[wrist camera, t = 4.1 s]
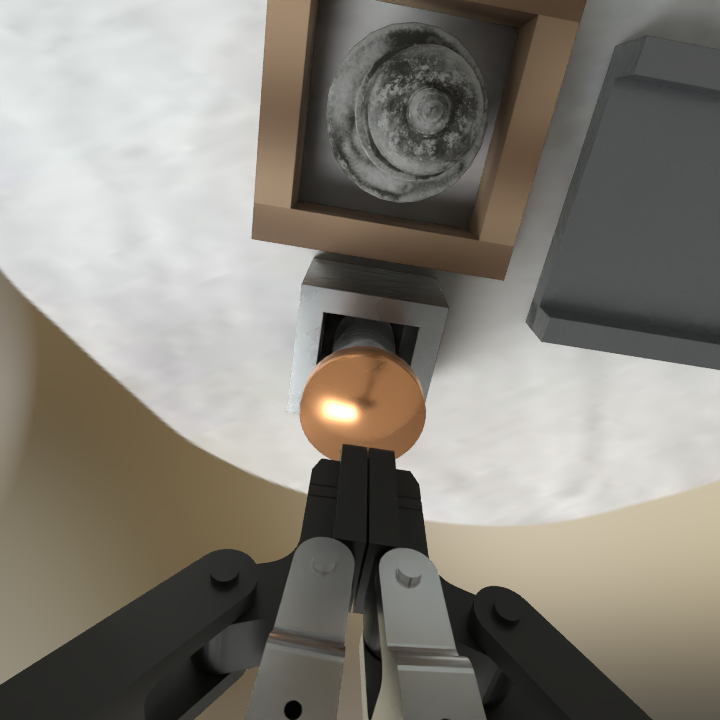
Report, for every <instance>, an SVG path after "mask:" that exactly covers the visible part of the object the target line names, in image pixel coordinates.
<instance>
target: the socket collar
mask: <svg viewBox="0 0 720 720" xmlns="http://www.w3.org/2000/svg"><path fill="white" fill-rule="evenodd" d="M377 1H382V2H387V3H393V4H398V5H403V6H408V7H413V8H418V9H424V10H429V11H434V12H439V13H444V14H449V15H455V16H460V17H465V18H470V19H475V20H481V21H486V22H491V23H496V24H501V25H506V26H512V27H517V28H519V31H518V35H517V39H516V43H515V47H514V51H513V55H512V59H511V63H510V67H509V70H508V74H507V78H506V82H505V86H504V90H503V94H502V98H501V102H500V106H499V110H498V114H497V118H496V122H495V126H494V130H493V134H492V138H491V142H490V146H489V150H488V154H487V158H486V162H485V166H484V170H483V174H482V178H481V182H480V186H479V190H478V194H477V198H476V202H475V206H474V210H473V214H472V217H471V221H470V225H469V229H468V230H467V229H461V228H455V227H449V226H444V225H438V224H432V223H426V222H420V221H414V220H408V219H402V218H397V217H391V216H385V215H379V214H373V213H367V212H361V211H355V210H349V209H344V208H338V207H332V206H326V205H320V204H314V203H308V202H302V201H298V198H299V188H300V179H301V169H302V159H303V150H304V140H305V131H306V121H307V111H308V102H309V92H310V82H311V73H312V63H313V53H314V44H315V34H316V24H317V15H318V5H319V0H267V15H266V30H265V45H264V60H263V75H262V90H261V105H260V120H259V135H258V150H257V165H256V179H255V194H254V209H253V224H252V239H255V240H261V241H267V242H273V243H279V244H285V245H291V246H297V247H303V248H309V249H315V250H321V251H327V252H334V253H340V254H346V255H352V256H358V257H364V258H370V259H376V260H382V261H388V262H394V263H400V264H406V265H412V266H418V267H424V268H431V269H437V270H443V271H449V272H455V273H461V274H467V275H473V276H479V277H485V278H491V279H497V280H503V281H504V278H505V275H506V272H507V268H508V265H509V261H510V258H511V255H512V251H513V248H514V244H515V241H516V238H517V234H518V231H519V227H520V224H521V221H522V217H523V214H524V210H525V207H526V204H527V200H528V197H529V193H530V190H531V187H532V183H533V180H534V177H535V173H536V170H537V166H538V163H539V160H540V156H541V153H542V149H543V146H544V143H545V139H546V136H547V132H548V129H549V126H550V122H551V119H552V115H553V112H554V109H555V105H556V102H557V98H558V95H559V92H560V88H561V85H562V82H563V78H564V75H565V71H566V68H567V65H568V61H569V58H570V54H571V51H572V48H573V44H574V41H575V37H576V34H577V31H578V27H579V24H580V20H581V17H582V14H583V10H584V7H585V3H586V0H377Z"/></svg>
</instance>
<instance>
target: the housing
mask: <svg viewBox="0 0 720 720" xmlns="http://www.w3.org/2000/svg"><path fill="white" fill-rule="evenodd" d="M448 310H449V307H448V305H447V303H446V300H445V298H444V296H443V294H442V291H441V289H440V287H439V285H438V282H437V280H436V278H433V277H427V276H421V275H415V274H409V273H403V272H397V271H391V270H385V269H379V268H372V267H366V266H360V265H354V264H348V263H342V262H336V261H330V260H324V259H318V258H313V260H312V262H311V264H310V267H309V269H308V271H307V273H306V276H305V278H304V280H303V283H302V286H301V295H300V303H299V312H298V321H297V330H296V338H295V347H294V356H293V364H292V373H291V382H290V391H289V399H288V408H287V412H289V413H295V414H299V412H300V403H301V398H302V394H303V390H304V386H305V383H306V381H307V378H308V376H309V374H310V373H311V371H312V370H313V369H314V367H315V366H316V365H317V364H318V363H319V362H320V361H321V360H323V359H324V358H325V357H327V356H328V355H322V354H321V349H322V342H323V335H324V328H325V321H326V314H327V313H334V314H340V315H346V316H353V317H359V318H365V319H371V320H378V321H384V322H390V323H397V324H403V325H404V330H403V334H402V339H401V344H400V348H399V353H398V357H400V358H401V359H403V360H404V361H405V362H406V363H407V364H408V365H409V366H410V367H411V368H412V369H413V371H414V372H415V374H416V375H417V377H418V379H419V381H420V384H421V388H422V392H423V397H424V401H425V402H426V398H427V394H428V390H429V386H430V382H431V378H432V374H433V370H434V366H435V362H436V358H437V354H438V350H439V346H440V342H441V338H442V334H443V330H444V326H445V322H446V318H447V314H448Z"/></svg>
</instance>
